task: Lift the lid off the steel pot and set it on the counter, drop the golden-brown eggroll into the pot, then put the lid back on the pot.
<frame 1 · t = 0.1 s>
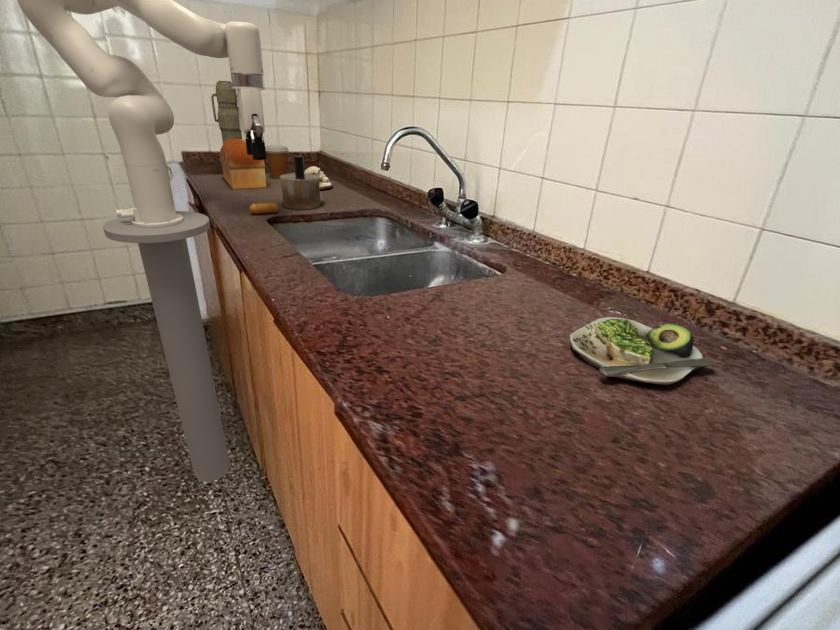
hand: (256, 157, 116), 17 cm above the counter, tool pointing down, fingers open, 9 cm apart
eggroll: (264, 213, 134), on the counter
disposable coffee cup: (279, 177, 188), on the counter
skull: (316, 188, 172), on the counter
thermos: (237, 173, 193), on the counter
avocado toast plate: (635, 356, 68), on the counter
bread: (244, 182, 175), on the counter
lid: (300, 178, 141), point 8 cm above the counter, touching pot
pot: (302, 205, 145), on the counter
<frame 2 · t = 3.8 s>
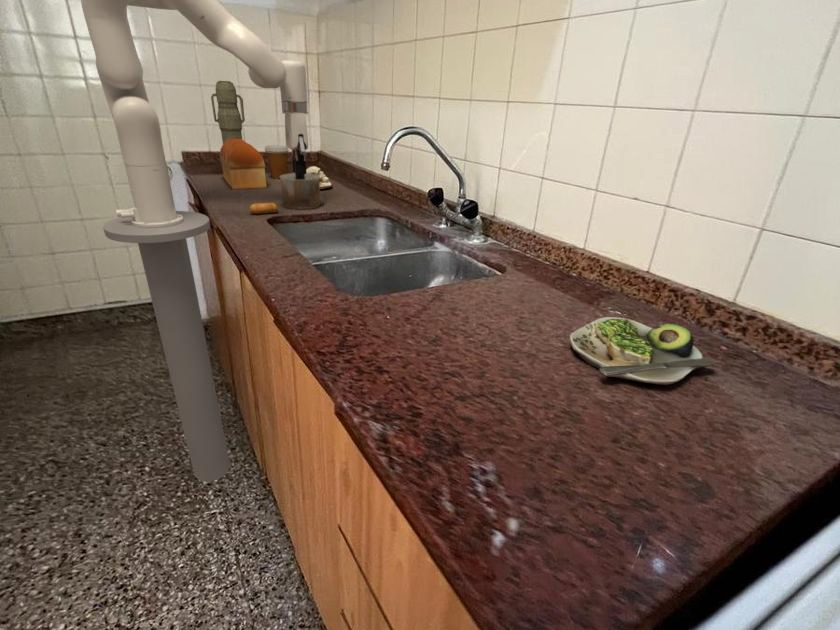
hand: (299, 172, 140), 10 cm above the counter, tool pointing down, fingers closed on lid, 2 cm apart
lid: (300, 178, 141), point 9 cm above the counter, touching gripper, pot
everything else where it was.
when the fingers open (2 cm above the counter, at t = 11.1 s): lid stays where it is, point 1 cm above the counter.
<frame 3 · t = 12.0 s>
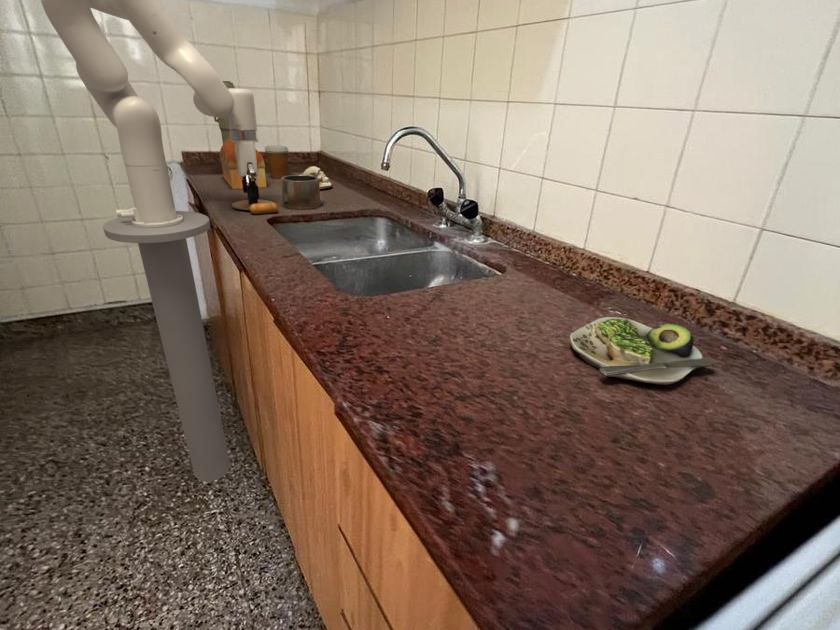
hand: (251, 195, 138), 4 cm above the counter, tool pointing down, fingers open, 9 cm apart
lid: (253, 205, 139), point 1 cm above the counter
everything else where it was.
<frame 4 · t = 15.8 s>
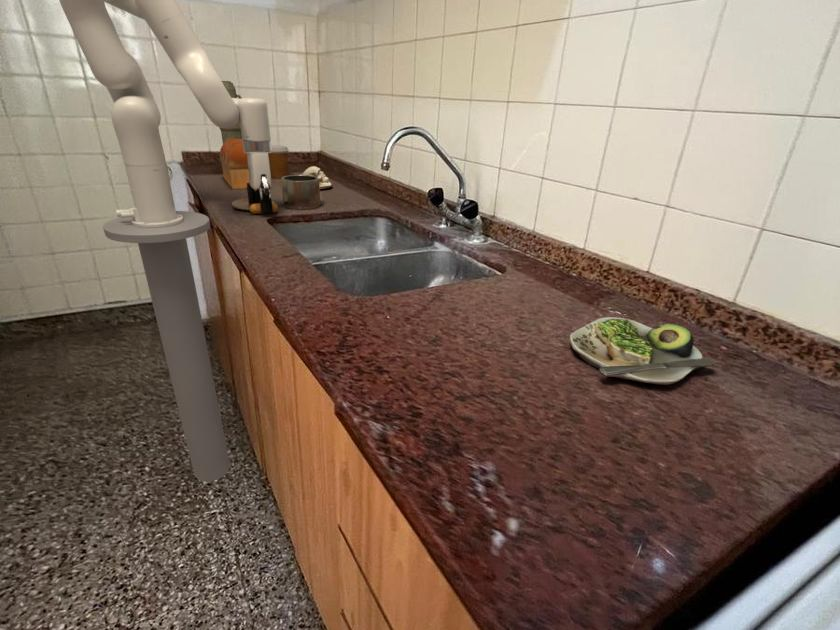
hand: (264, 209, 133), 1 cm above the counter, tool pointing down, fingers open, 7 cm apart
lid: (253, 204, 139), point 1 cm above the counter, touching gripper
everything else where it was.
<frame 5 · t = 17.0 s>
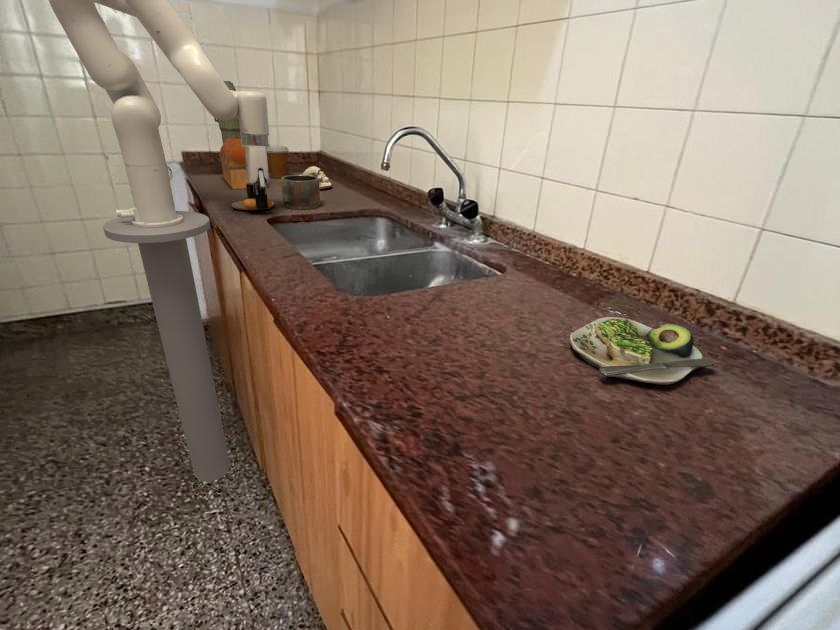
hand: (261, 206, 132), 2 cm above the counter, tool pointing down, fingers closed on eggroll, 3 cm apart
eggroll: (258, 209, 132), point 1 cm above the counter, touching gripper
lid: (253, 205, 139), point 1 cm above the counter
everything else where it was.
when the fingers open (11 cm above the counter, at t = 21.0 s): eggroll drops 10 cm, resting on pot.
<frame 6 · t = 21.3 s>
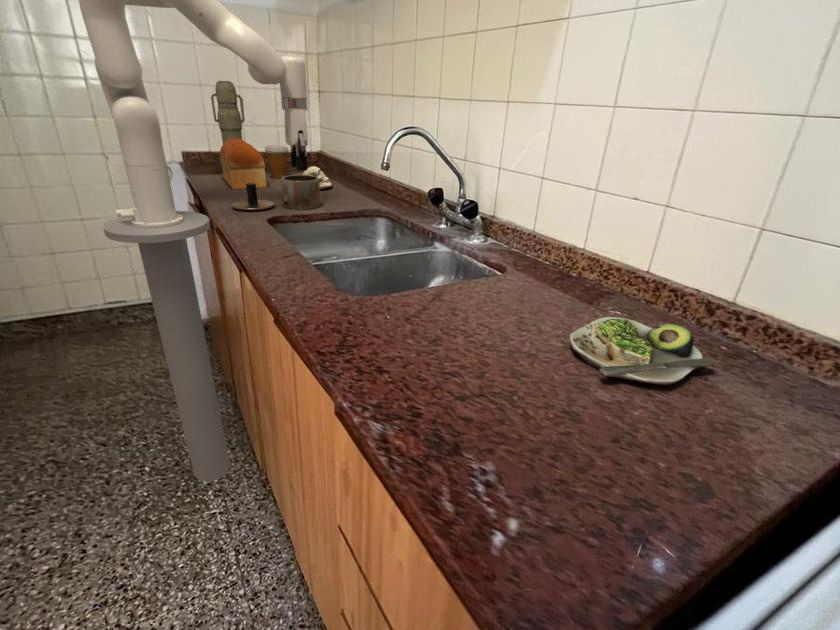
hand: (299, 167, 140), 12 cm above the counter, tool pointing down, fingers open, 6 cm apart
eggroll: (299, 203, 144), point 1 cm above the counter, touching pot
everything else where it was.
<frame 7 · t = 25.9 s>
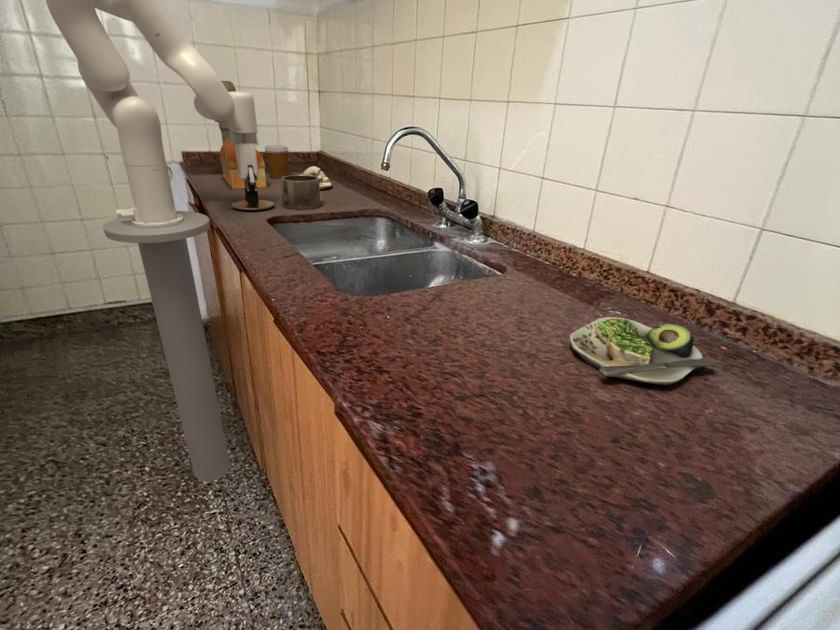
hand: (252, 201, 139), 2 cm above the counter, tool pointing down, fingers closed on lid, 2 cm apart
lid: (253, 205, 139), point 1 cm above the counter, touching gripper
everything else where it was.
when the fingers open (10 cm above the counter, at t = 32.5 s): lid stays where it is, resting on pot.
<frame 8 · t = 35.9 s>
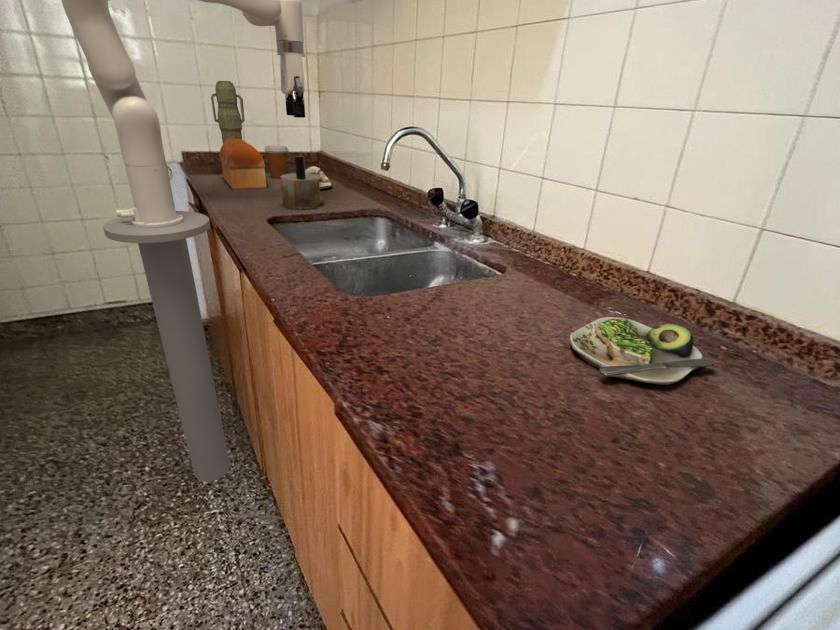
hand: (295, 116, 133), 26 cm above the counter, tool pointing down, fingers open, 9 cm apart
eggroll: (299, 203, 144), point 1 cm above the counter, tilted 9°, touching pot
lid: (300, 178, 141), point 8 cm above the counter, touching pot
everything else where it was.
at the end: eggroll inside the target area in the pot (0.8 cm from its centre), point 0.5 cm above the pot's base; lid 0.2 cm off-centre on the pot, point 8.5 cm above the pot's base; lid tilted 0° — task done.
